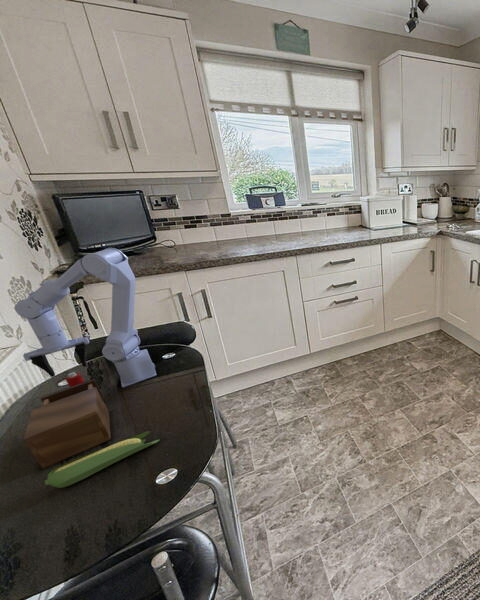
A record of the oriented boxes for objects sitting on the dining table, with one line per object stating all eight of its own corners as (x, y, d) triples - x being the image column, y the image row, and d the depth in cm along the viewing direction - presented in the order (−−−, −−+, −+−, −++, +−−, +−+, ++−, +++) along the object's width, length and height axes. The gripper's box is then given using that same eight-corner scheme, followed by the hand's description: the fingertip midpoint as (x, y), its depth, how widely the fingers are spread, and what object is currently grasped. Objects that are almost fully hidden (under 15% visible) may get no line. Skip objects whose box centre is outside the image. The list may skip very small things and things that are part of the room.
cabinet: (48, 436, 87) (32, 409, 84) (109, 412, 95) (95, 386, 91) (42, 469, 77) (23, 439, 73) (110, 439, 84) (96, 411, 81)
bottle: (85, 382, 111) (78, 369, 109) (85, 387, 108) (78, 373, 106) (71, 387, 109) (64, 373, 107) (71, 392, 106) (63, 378, 104)
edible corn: (53, 483, 72) (43, 468, 71) (160, 435, 84) (153, 421, 82) (50, 499, 69) (40, 483, 67) (162, 446, 80) (155, 432, 79)
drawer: (54, 410, 96) (42, 389, 94) (104, 391, 103) (94, 372, 101) (48, 443, 83) (34, 420, 81) (105, 420, 90) (94, 398, 88)
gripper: (13, 346, 94) (36, 385, 99) (80, 328, 102) (98, 365, 107) (17, 338, 99) (39, 376, 104) (81, 322, 107) (98, 358, 112)
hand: (69, 370), depth 106 cm, fingers open, 7 cm apart
